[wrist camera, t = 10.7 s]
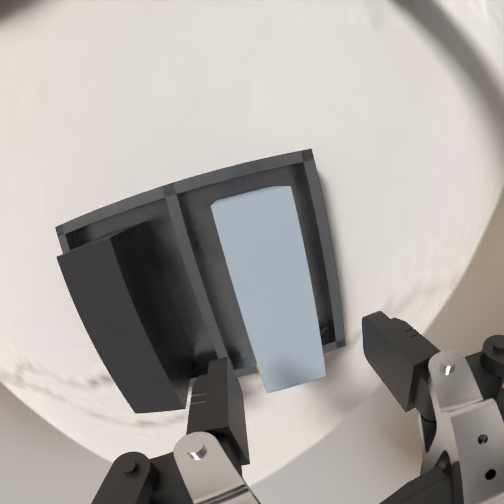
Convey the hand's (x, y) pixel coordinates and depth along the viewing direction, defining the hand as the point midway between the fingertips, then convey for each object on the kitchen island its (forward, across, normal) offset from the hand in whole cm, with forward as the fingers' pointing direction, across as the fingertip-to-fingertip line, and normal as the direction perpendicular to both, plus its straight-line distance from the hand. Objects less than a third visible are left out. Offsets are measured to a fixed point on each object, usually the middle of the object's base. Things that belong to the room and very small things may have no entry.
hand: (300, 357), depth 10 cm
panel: (+12, 0, 0) cm, 12 cm away
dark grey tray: (+12, +5, 0) cm, 13 cm away
